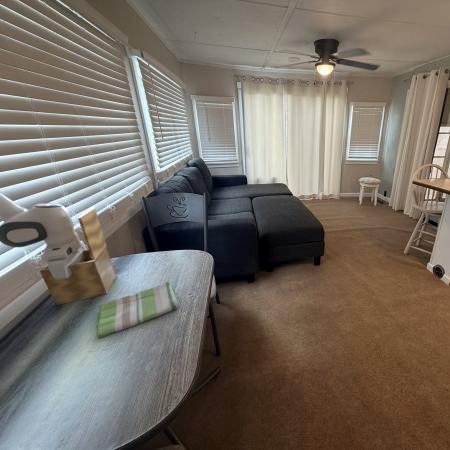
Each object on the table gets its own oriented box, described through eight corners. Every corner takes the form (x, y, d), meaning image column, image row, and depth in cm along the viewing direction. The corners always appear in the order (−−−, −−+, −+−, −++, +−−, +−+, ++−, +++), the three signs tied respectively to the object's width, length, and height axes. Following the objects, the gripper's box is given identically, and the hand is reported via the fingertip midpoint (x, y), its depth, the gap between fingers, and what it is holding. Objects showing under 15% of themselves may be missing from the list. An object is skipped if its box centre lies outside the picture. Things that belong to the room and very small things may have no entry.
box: (56, 305, 88) (39, 270, 83) (72, 285, 100) (58, 254, 95) (106, 293, 94) (94, 261, 88) (116, 276, 106) (105, 246, 100)
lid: (77, 217, 82) (80, 217, 83) (92, 207, 94) (94, 207, 94) (92, 260, 88) (94, 259, 88) (104, 245, 100) (106, 245, 100)
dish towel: (180, 309, 84) (178, 301, 83) (97, 340, 72) (93, 331, 71) (172, 286, 97) (170, 278, 96) (101, 309, 85) (98, 301, 84)
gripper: (67, 236, 97) (79, 266, 102) (39, 259, 79) (55, 293, 84) (86, 233, 99) (97, 262, 104) (63, 255, 81) (77, 288, 86)
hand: (78, 276), depth 94 cm, fingers closed on beverage can, 6 cm apart
